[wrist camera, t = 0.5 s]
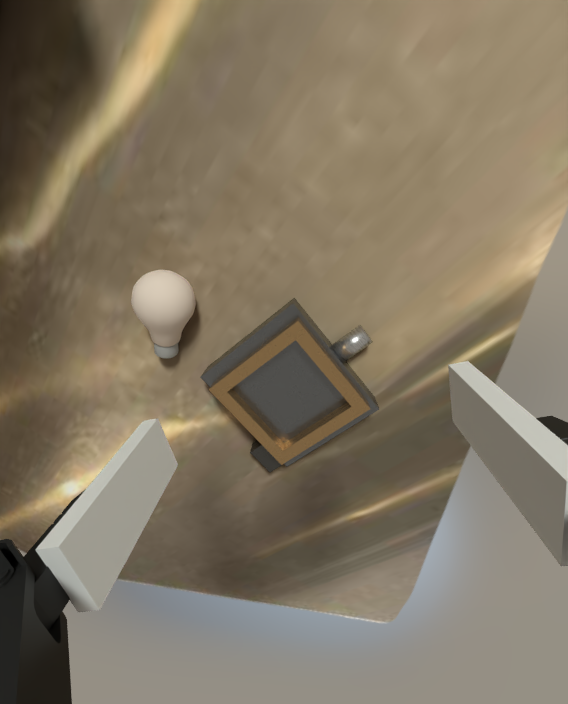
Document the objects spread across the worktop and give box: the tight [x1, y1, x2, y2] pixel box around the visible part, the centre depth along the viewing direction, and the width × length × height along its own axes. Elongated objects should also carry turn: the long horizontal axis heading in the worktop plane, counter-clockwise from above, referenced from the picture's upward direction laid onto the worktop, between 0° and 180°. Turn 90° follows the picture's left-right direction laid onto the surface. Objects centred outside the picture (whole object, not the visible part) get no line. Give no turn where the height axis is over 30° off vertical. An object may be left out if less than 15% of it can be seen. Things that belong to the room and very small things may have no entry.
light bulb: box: [131, 270, 196, 358], centre depth 37 cm, size 7×7×11 cm
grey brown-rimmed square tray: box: [201, 298, 379, 472], centre depth 39 cm, size 16×21×4 cm
